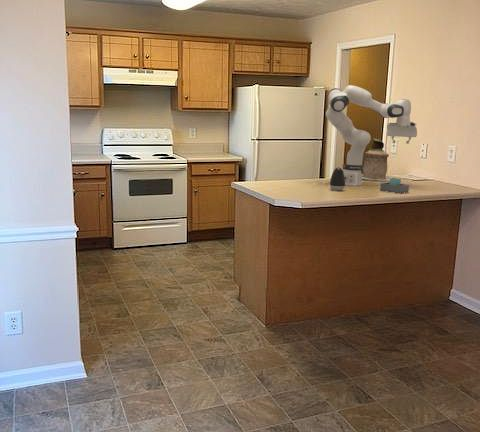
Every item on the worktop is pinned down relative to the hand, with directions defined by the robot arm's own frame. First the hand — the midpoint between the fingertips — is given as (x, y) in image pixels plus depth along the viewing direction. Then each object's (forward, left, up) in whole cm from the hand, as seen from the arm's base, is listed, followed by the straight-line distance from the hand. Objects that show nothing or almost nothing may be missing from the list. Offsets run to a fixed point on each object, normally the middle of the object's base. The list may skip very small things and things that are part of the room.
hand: (400, 143), depth 364 cm
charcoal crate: (-6, -21, -31) cm, 38 cm away
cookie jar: (-8, +41, -32) cm, 52 cm away
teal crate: (-6, -21, -30) cm, 37 cm away
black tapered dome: (-45, -28, -31) cm, 62 cm away
